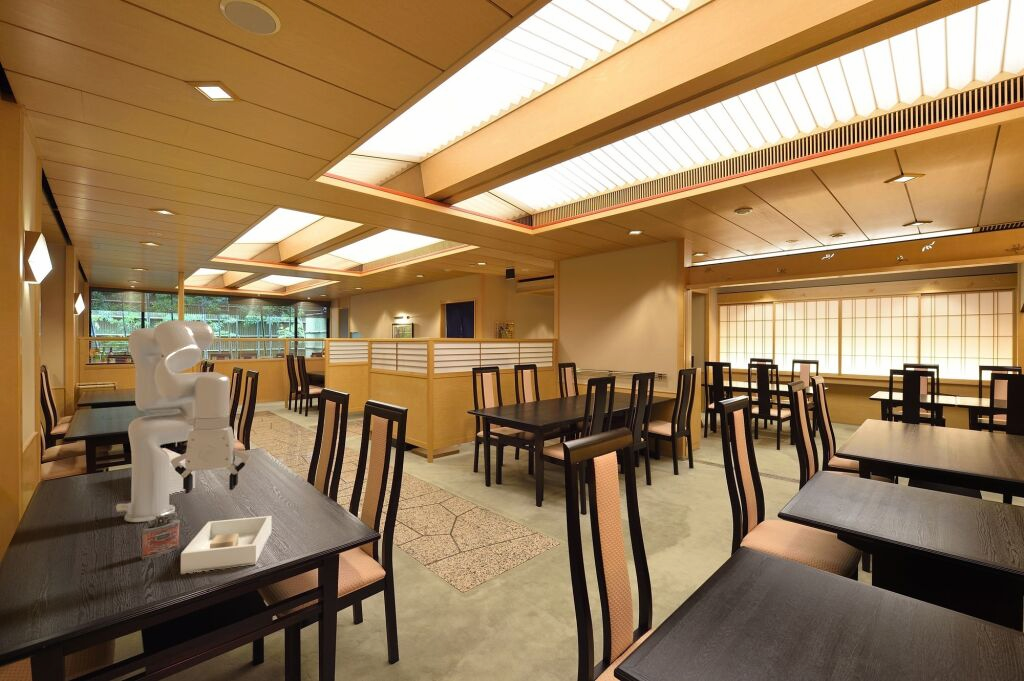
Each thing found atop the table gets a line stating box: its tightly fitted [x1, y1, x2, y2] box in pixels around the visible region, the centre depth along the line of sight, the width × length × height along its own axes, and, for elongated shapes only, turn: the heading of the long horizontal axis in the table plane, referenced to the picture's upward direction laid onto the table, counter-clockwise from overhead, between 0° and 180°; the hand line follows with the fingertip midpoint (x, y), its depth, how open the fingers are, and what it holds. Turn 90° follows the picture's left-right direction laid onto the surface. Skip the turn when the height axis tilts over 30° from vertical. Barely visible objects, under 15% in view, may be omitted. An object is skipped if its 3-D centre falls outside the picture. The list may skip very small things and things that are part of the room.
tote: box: [180, 515, 273, 575], centre depth 121 cm, size 16×20×5 cm
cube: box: [210, 533, 238, 549], centre depth 116 cm, size 5×5×5 cm
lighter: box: [141, 511, 181, 560], centre depth 120 cm, size 8×3×10 cm, turn 143°
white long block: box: [161, 447, 196, 495], centre depth 176 cm, size 32×11×11 cm, turn 54°
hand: (210, 490), depth 117 cm, fingers open, 9 cm apart
